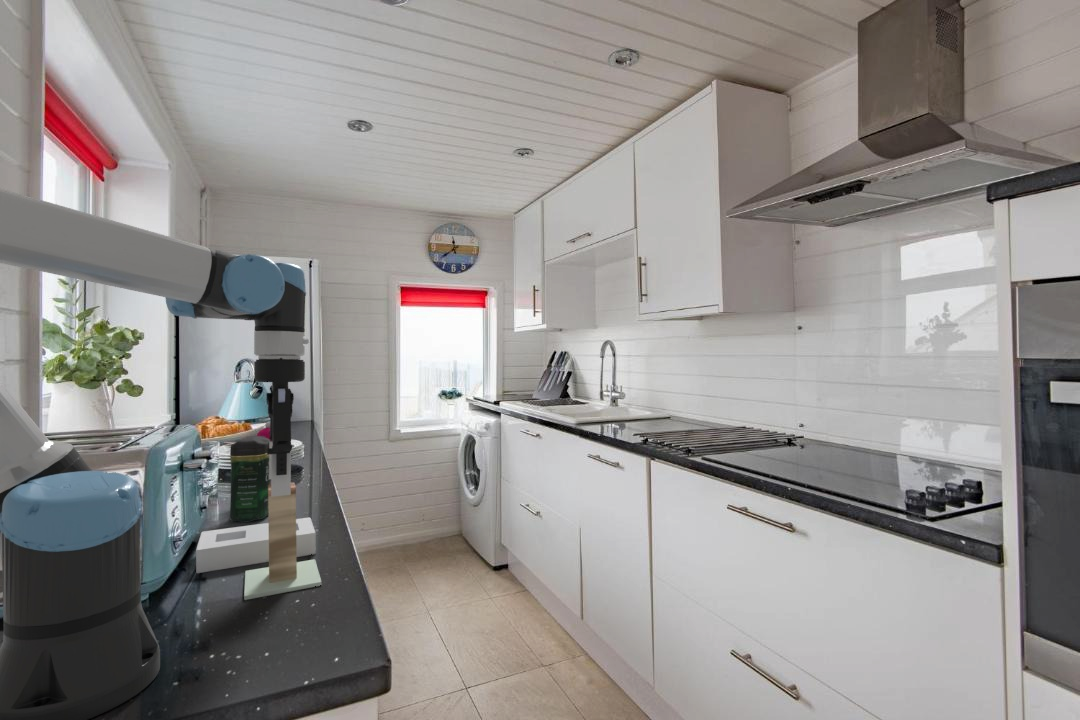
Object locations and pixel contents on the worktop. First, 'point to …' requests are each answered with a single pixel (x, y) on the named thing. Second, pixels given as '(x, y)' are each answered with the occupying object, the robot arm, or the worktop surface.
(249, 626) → the worktop surface
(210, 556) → the white box
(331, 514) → the worktop surface
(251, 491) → the coffee jar
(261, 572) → the mat
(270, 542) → the tan wooden tall block
